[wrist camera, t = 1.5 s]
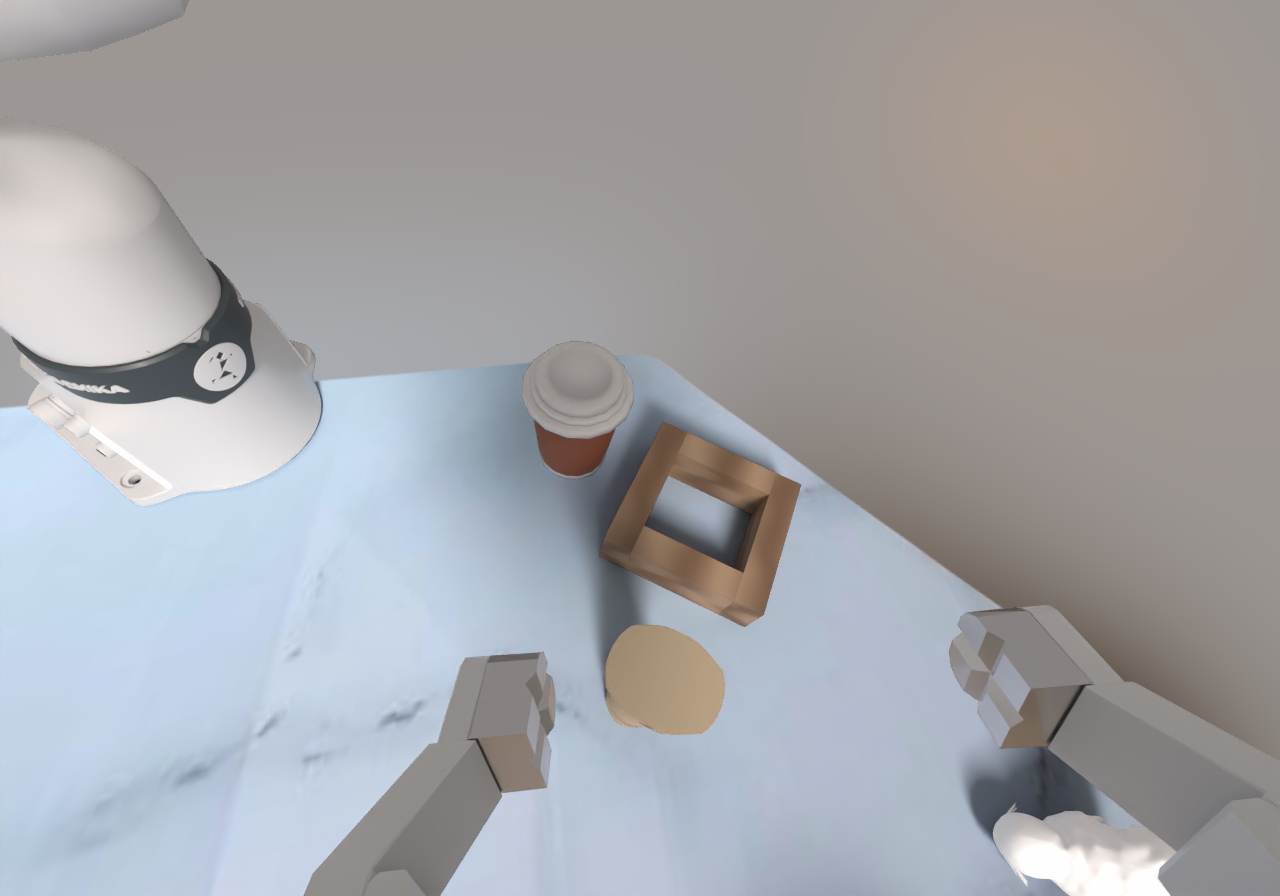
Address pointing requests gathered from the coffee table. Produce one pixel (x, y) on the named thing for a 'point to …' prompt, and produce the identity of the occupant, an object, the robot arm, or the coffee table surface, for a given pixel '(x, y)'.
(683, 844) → the coffee table surface
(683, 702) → the handle
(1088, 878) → the white lumpy rounded piece
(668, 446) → the socket block
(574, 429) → the coffee cup
